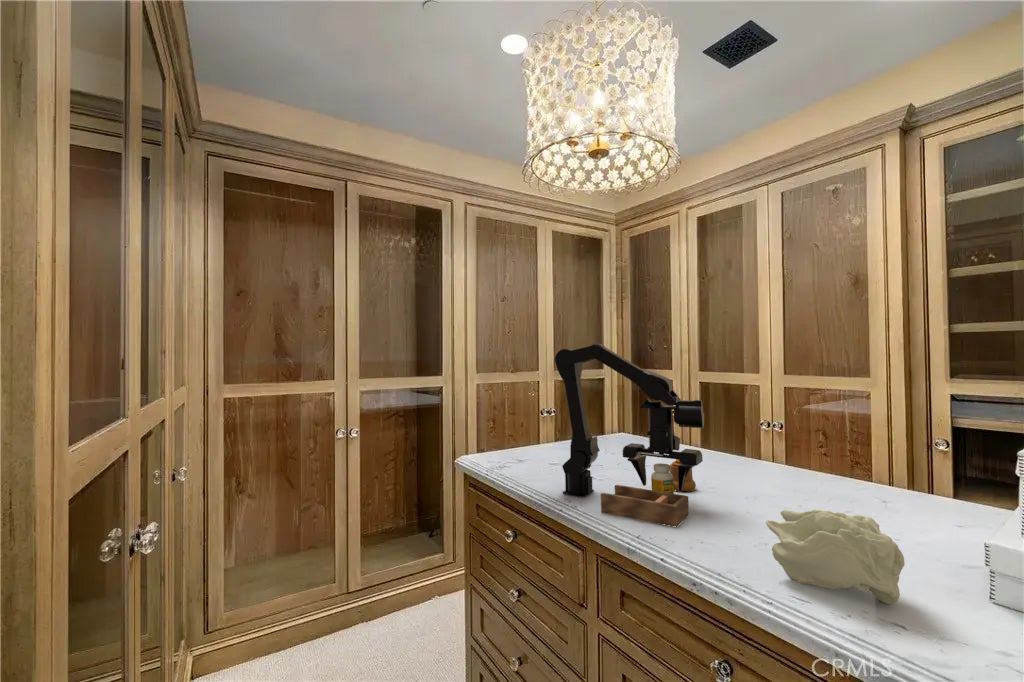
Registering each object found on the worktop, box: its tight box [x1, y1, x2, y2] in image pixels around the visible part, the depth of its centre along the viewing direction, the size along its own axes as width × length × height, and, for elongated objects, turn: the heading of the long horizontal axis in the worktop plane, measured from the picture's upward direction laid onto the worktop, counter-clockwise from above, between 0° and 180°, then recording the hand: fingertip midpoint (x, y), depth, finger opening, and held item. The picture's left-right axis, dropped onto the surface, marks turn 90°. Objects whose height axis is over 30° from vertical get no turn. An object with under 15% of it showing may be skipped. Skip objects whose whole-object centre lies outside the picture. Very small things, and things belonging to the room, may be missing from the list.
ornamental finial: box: [669, 459, 697, 492], centre depth 133 cm, size 8×8×8 cm
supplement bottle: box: [650, 463, 675, 494], centre depth 121 cm, size 5×5×10 cm
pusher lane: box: [600, 484, 690, 528], centre depth 113 cm, size 18×9×4 cm, turn 53°
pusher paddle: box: [655, 495, 668, 504], centre depth 111 cm, size 1×6×3 cm, turn 144°
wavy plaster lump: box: [765, 509, 906, 605], centre depth 77 cm, size 18×13×16 cm
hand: (662, 488), depth 121 cm, fingers open, 9 cm apart
